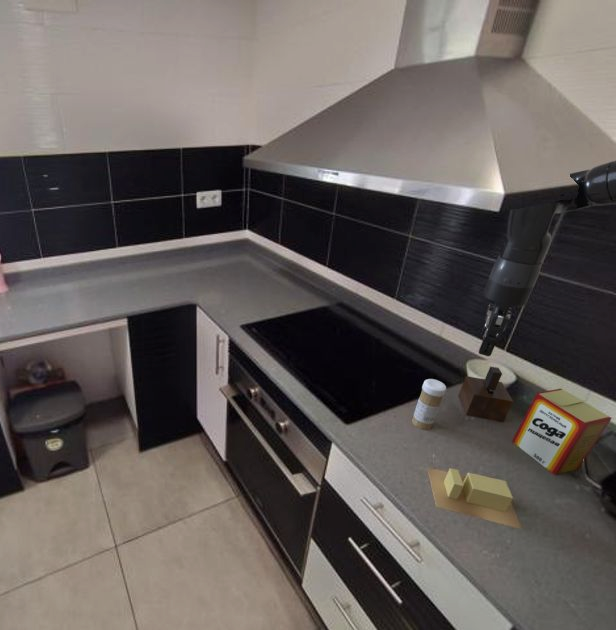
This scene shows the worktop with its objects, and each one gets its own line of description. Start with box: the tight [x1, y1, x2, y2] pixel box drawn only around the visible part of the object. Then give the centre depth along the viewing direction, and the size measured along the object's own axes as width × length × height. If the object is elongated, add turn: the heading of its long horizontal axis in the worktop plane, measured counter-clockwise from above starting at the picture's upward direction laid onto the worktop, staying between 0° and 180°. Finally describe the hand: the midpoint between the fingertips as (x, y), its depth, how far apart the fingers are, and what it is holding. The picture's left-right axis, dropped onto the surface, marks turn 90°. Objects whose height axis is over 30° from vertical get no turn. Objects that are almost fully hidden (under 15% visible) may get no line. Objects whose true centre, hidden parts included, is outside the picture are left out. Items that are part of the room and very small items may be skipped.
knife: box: [484, 366, 503, 394], centre depth 95 cm, size 2×4×12 cm, turn 161°
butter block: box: [463, 472, 514, 512], centre depth 74 cm, size 6×4×4 cm, turn 71°
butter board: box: [426, 466, 523, 530], centre depth 76 cm, size 14×10×1 cm
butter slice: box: [444, 467, 463, 500], centre depth 76 cm, size 2×4×4 cm, turn 161°
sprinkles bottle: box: [411, 378, 447, 431], centre depth 91 cm, size 5×5×13 cm
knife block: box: [457, 375, 514, 423], centre depth 97 cm, size 8×8×8 cm
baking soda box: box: [511, 388, 612, 476], centre depth 81 cm, size 10×6×16 cm
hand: (484, 346), depth 86 cm, fingers open, 8 cm apart
